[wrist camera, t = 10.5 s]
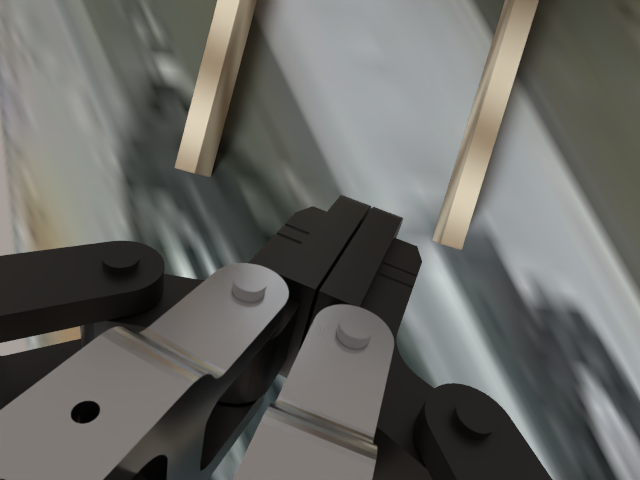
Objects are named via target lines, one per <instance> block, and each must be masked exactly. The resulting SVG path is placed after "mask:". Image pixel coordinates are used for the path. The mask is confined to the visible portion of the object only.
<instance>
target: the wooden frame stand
mask: <svg viewBox="0 0 640 480" xmlns="http://www.w3.org/2000/svg"><path fill="white" fill-rule="evenodd" d="M538 1H539V0H505V2H504V5H503V9H502V12H501V15H500V19H499V22H498V25H497V28H496V32H495V35H494V38H493V42H492V45H491V48H490V51H489V55H488V58H487V61H486V65H485V68H484V71H483V74H482V78H481V81H480V84H479V88H478V91H477V94H476V98H475V101H474V104H473V107H472V111H471V114H470V117H469V121H468V124H467V127H466V130H465V134H464V137H463V140H462V144H461V147H460V150H459V153H458V157H457V160H456V163H455V167H454V170H453V173H452V176H451V180H450V183H449V186H448V190H447V193H446V196H445V200H444V203H443V206H442V209H441V213H440V216H439V219H438V223H437V226H436V229H435V232H434V236H433V239H432V241H435V242H438V243H440V244H443V245H447V246H450V247H454V248H457V249H461V250H462V247H463V244H464V241H465V237H466V234H467V231H468V228H469V224H470V221H471V218H472V215H473V212H474V208H475V205H476V202H477V199H478V195H479V192H480V189H481V186H482V182H483V179H484V176H485V173H486V170H487V166H488V163H489V160H490V157H491V153H492V150H493V147H494V144H495V140H496V137H497V134H498V131H499V128H500V124H501V121H502V118H503V115H504V111H505V108H506V105H507V102H508V98H509V95H510V92H511V89H512V85H513V82H514V79H515V76H516V73H517V69H518V66H519V63H520V60H521V56H522V53H523V50H524V47H525V43H526V40H527V37H528V34H529V31H530V27H531V24H532V21H533V18H534V14H535V11H536V8H537V5H538ZM256 2H257V0H218V1H217V5H216V9H215V13H214V17H213V21H212V24H211V28H210V32H209V36H208V40H207V44H206V48H205V52H204V56H203V59H202V63H201V67H200V71H199V75H198V79H197V83H196V87H195V91H194V95H193V98H192V102H191V106H190V110H189V114H188V118H187V122H186V126H185V130H184V134H183V137H182V141H181V145H180V149H179V153H178V157H177V161H176V165H175V168H177V169H181V170H184V171H188V172H191V173H195V174H199V175H204V176H208V177H211V174H212V170H213V166H214V162H215V158H216V155H217V151H218V147H219V143H220V139H221V135H222V132H223V128H224V124H225V120H226V116H227V113H228V109H229V105H230V101H231V97H232V94H233V90H234V86H235V82H236V78H237V75H238V71H239V67H240V63H241V59H242V56H243V52H244V48H245V44H246V40H247V37H248V33H249V29H250V25H251V21H252V18H253V14H254V10H255V6H256Z"/></svg>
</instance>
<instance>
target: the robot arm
mask: <svg viewBox="0 0 640 480" xmlns="http://www.w3.org/2000/svg"><path fill="white" fill-rule="evenodd" d="M402 220H403V218H402V217H399V216H396V215H394V214H391V213H388V212H386V211H383V210H380V209H378V208H375V207H373V208H372V209H371V206H369V205H367V204H364V203H361V202H359V201H356V200H354V199H351V198H348V197H346V196H343V195H341V196H340V197H339V198H338V199H337V200H336V202H335V203H334V204H333V205H332V207H331V208H330V209H329V210H328V211H327V212H326V211H323V210H321V209H318V208H316V207H310V208H307V209H304V210H301V211H299V212H296V213H295V214H294V215H293V216H292V217H291V218H290V219H289V220H288V221H287V222H286V224H285V226H283V227H282V228H281V229H280V230H279V231H278V232H277V234H276V235H274V236H273V237H272V238H271V239H270V241H269V242H268V243H267V244H266V245H265V246H264V247H263V248H262V249H261V250H260V251H259V252H258V253H257V254H256V255H255V256H254V258H253V259H252V260H251V261H250V262H249V263H237V264H231V265H228V266H225V267H223V268H220V269H219V270H217V271H216V272H215V273H213V274H212V275H211V276H210V277H209V278H207V279H206V280H198V279H191V278H185V277H179V276H174V275H168V274H164V261H163V258H162V257H161V255H160V254H159V253H158V252H157V251H156V250H154V249H153V248H151V247H149V246H147V245H144V244H141V243H137V242H132V241H111V242H103V243H96V244H88V245H80V246H73V247H65V248H57V249H50V250H42V251H34V252H27V253H19V254H11V255H4V256H0V343H2V342H7V341H11V340H16V339H21V338H26V337H31V336H35V335H40V334H45V333H49V332H54V331H59V330H64V329H68V328H73V327H78V326H80V331H81V339H78V340H73V341H69V342H64V343H60V344H55V345H51V346H46V347H42V348H37V349H33V350H29V351H24V352H20V353H15V354H11V355H6V356H0V480H208V479H209V477H210V476H211V475H212V473H213V472H214V470H215V469H216V468H217V466H218V465H219V463H220V462H221V461H222V459H223V458H224V457H225V455H226V454H227V452H228V451H229V450H230V448H231V447H232V446H233V444H234V443H235V441H236V440H237V439H238V437H239V436H240V434H241V433H242V432H243V430H244V429H245V428H246V426H247V425H248V423H249V422H250V421H251V419H252V418H253V416H254V415H255V414H256V412H257V411H258V410H259V408H260V407H261V405H262V403H263V401H264V397H265V393H266V392H267V390H268V389H269V387H270V386H271V384H272V383H273V381H274V379H275V378H276V376H277V374H279V375H282V376H284V377H286V378H287V379H286V381H285V383H284V386H283V388H282V390H281V392H280V394H279V396H278V398H277V400H276V402H275V404H272V403H271V404H270V405H269V407H268V408H267V410H266V412H265V414H264V416H263V418H262V420H261V422H260V424H259V426H258V428H257V430H256V432H255V434H254V436H253V439H252V441H251V443H250V445H249V447H248V449H247V451H246V453H245V455H244V458H243V460H242V462H241V464H240V466H239V468H238V470H237V472H236V474H235V476H234V479H233V480H552V478H551V477H550V476H549V474H548V473H547V471H546V470H545V468H544V467H543V465H542V464H541V462H540V461H539V459H538V458H537V456H536V455H535V454H534V452H533V451H532V449H531V448H530V446H529V445H528V443H527V442H526V440H525V439H524V437H523V436H522V434H521V433H520V432H519V430H518V429H517V427H516V426H515V424H514V423H513V421H512V420H511V418H510V417H509V415H508V414H507V413H506V412H505V410H504V409H503V408H502V407H501V406H500V405H499V404H498V403H497V402H496V401H494V400H493V399H492V398H491V397H489V396H488V395H486V394H485V393H483V392H481V391H479V390H477V389H475V388H473V387H470V386H466V385H463V384H455V383H452V384H444V385H441V386H438V387H436V388H435V389H434V388H433V387H432V386H430V385H429V384H428V383H426V382H425V381H424V380H422V379H421V378H420V377H418V376H417V375H416V374H415V373H414V372H413V371H412V370H411V369H410V368H409V367H408V366H407V365H406V363H405V362H404V361H403V359H402V357H401V356H400V353H399V351H398V348H397V343H396V337H397V332H398V329H399V326H400V324H401V321H402V318H403V315H404V312H405V309H406V306H407V303H408V301H409V298H410V295H411V292H412V289H413V286H414V283H415V280H416V277H417V275H418V272H419V269H420V266H421V263H422V260H421V257H420V254H419V251H418V248H417V246H414V245H412V244H409V243H407V242H404V241H401V240H399V239H396V237H397V234H398V232H399V229H400V226H401V223H402Z"/></svg>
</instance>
